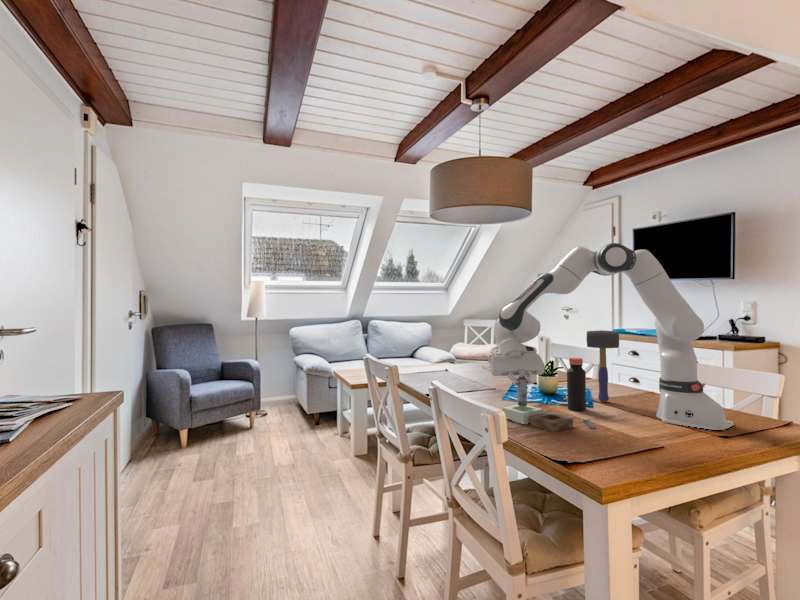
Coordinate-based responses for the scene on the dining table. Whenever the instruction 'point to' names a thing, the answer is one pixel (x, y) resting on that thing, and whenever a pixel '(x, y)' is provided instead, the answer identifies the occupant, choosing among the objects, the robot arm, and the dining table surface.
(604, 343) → the rubber mallet
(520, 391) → the drill bit
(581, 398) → the bottle
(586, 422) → the drift key
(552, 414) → the socket block
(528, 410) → the rack block
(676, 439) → the dining table surface
